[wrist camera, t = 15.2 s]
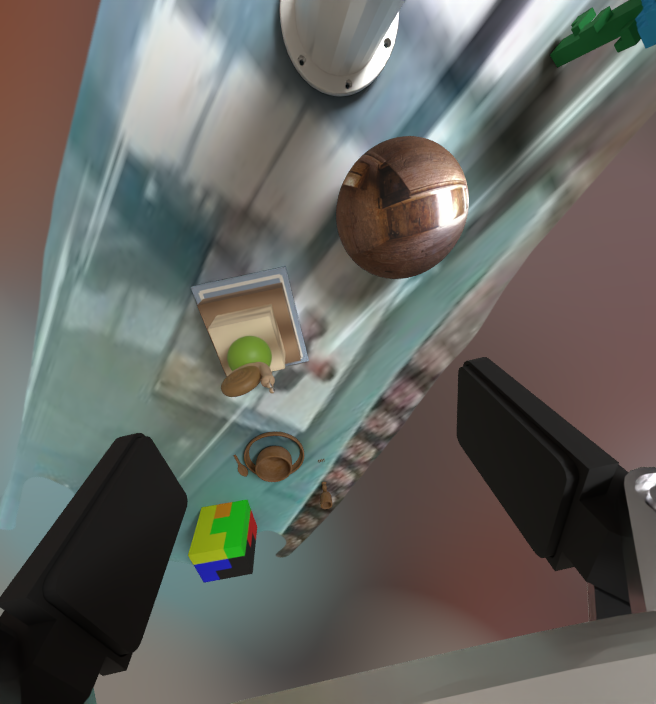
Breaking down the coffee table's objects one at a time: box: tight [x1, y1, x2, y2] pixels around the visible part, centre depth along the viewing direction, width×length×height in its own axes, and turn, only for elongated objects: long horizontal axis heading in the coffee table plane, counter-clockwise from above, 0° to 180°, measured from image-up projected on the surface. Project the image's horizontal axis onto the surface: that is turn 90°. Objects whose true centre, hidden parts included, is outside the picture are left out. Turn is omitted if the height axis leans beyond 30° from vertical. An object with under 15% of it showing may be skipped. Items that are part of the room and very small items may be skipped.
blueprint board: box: [191, 266, 309, 366], centre depth 47 cm, size 16×14×1 cm
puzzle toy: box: [188, 500, 257, 582], centre depth 63 cm, size 10×10×10 cm
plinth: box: [197, 282, 301, 377], centre depth 43 cm, size 12×12×8 cm
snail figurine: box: [221, 336, 275, 397], centre depth 34 cm, size 5×6×12 cm
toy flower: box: [550, 0, 656, 68], centre depth 28 cm, size 9×9×18 cm
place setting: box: [233, 432, 332, 509], centre depth 60 cm, size 18×20×6 cm
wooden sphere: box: [336, 136, 469, 279], centre depth 35 cm, size 15×15×15 cm
